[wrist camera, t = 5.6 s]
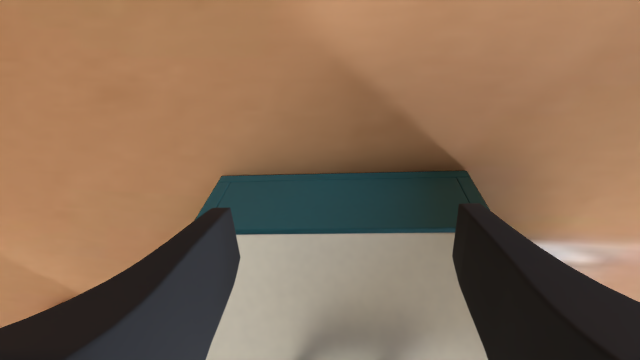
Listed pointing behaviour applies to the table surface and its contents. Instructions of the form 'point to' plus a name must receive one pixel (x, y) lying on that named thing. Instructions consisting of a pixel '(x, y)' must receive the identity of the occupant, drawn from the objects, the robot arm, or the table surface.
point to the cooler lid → (346, 300)
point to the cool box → (345, 202)
